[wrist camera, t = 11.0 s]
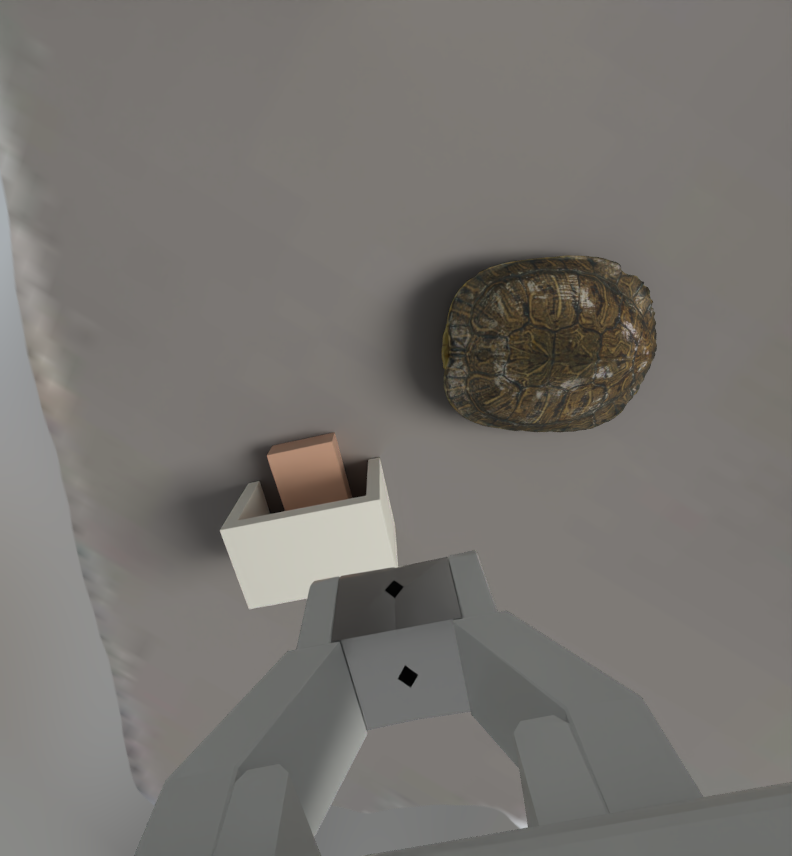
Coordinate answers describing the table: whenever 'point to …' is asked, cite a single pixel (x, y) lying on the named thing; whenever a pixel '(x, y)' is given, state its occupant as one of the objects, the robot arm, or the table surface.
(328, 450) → the tan rectangular block
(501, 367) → the turtle shell
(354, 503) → the white storage bin
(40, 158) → the table surface
